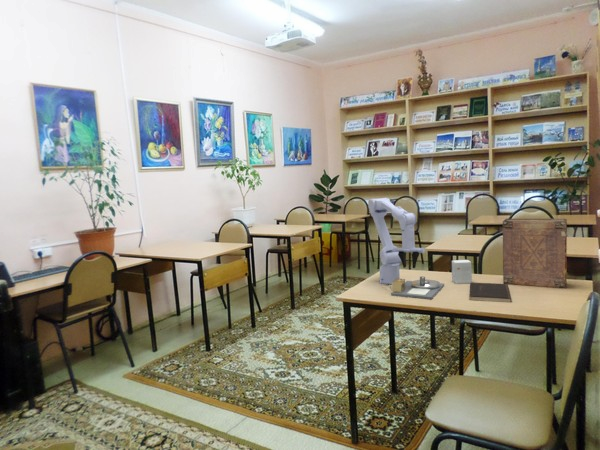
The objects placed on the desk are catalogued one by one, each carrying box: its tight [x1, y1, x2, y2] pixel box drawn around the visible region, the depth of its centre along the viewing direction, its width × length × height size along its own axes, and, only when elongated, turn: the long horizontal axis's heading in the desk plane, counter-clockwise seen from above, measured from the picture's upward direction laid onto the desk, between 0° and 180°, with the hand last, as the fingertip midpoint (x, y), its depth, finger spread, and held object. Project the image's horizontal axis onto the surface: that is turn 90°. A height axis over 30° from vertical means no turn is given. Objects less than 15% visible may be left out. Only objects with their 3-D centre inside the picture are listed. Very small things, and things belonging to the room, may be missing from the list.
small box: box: [451, 259, 473, 285], centre depth 207 cm, size 8×6×10 cm
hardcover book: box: [468, 282, 513, 303], centre depth 186 cm, size 16×23×2 cm
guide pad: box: [407, 288, 430, 296], centre depth 191 cm, size 8×9×1 cm
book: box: [502, 218, 568, 290], centre depth 195 cm, size 25×9×30 cm, turn 58°
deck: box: [390, 280, 445, 300], centre depth 197 cm, size 18×24×1 cm
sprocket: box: [411, 276, 440, 289], centre depth 200 cm, size 13×13×5 cm
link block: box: [391, 278, 406, 293], centre depth 195 cm, size 4×6×5 cm, turn 149°
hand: (409, 267), depth 199 cm, fingers open, 4 cm apart
